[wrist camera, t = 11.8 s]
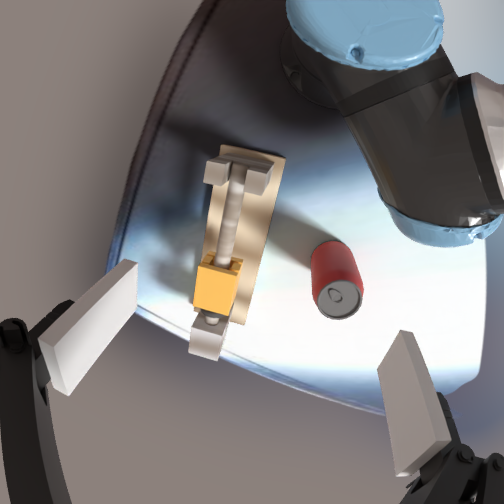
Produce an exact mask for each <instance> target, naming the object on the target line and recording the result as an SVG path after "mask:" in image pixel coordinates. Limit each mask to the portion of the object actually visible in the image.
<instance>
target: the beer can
mask: <svg viewBox="0 0 504 504" xmlns="http://www.w3.org/2000/svg"><path fill="white" fill-rule="evenodd" d="M311 278H312V295H313V299H314V302H315V304H316V305H317V306H318V309H319V310H320V312H321V313H322V314H323V315H324V316H326V317H327V318H330V319H335V320H341V319H346V318H348V317H350V316H352V315H354V314H355V313H356V312H357V311H358V310H359V308H360V306H361V304H362V297H363V292H364V288H363V282H362V279H361V276H360V273H359V271H358V268H357V265H356V262H355V259H354V257H353V254H352V252H351V250H350V249H349V248H348V247H347V246H346V245H345V244H343V243H341V242H338V241H329V242H325V243H323V244H321V245H319V246H318V247H317V248H316V249H315V250H314V252H313V254H312V256H311Z"/></svg>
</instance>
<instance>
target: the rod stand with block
mask: <svg viewBox="0 0 504 504" xmlns="http://www.w3.org/2000/svg"><path fill="white" fill-rule="evenodd" d="M285 160H286V158H283V157H279V156H275V155H271V154H267V153H262V152H258V151H254V150H249V149H245V148H240V147H235V146H230V145H225V144H223V145H221V148H220V153H219V156H218V157H215V158H213V159H210V160H208V161H207V164H206V169H205V175H204V181H203V183H208V184H212V185H213V191H212V196H211V202H210V208H209V214H208V220H207V226H206V232H205V238H204V244H203V251H202V257H201V263H202V260H203V259H204V257H205V256H206V255H207V253H208V251H212V252H216V254H215V259H214V265H213V266H215V267H219V268H223V269H227V270H229V266H230V261H231V257H235V258H239V259H243V260H244V261H243V265H242V269H241V274H240V278H239V283H238V288H237V292H236V297H235V299H234V302H233V305H232V307H231V310H230V312H229V315H228V316H226V315H223V314H219V313H216V312H212V311H209V310H205V309H202V308H198V307H195V306H194V311H195V312H198V315H197V317H196V319H195V321H194V323H193V325H192V327H191V334H190V342H189V351H188V352H189V353H192V354H195V355H199V356H202V357H205V358H208V359H212V360H215V361H217V360H218V357H219V355H220V352H221V349H222V346H223V343H224V341H225V336H226V332H227V327H228V324H229V321H230V322H234V323H237V324H241V325H245V321H246V317H247V313H248V310H249V306H250V302H251V298H252V294H253V290H254V286H255V282H256V278H257V274H258V270H259V266H260V262H261V258H262V254H263V250H264V246H265V242H266V238H267V234H268V230H269V226H270V222H271V218H272V214H273V210H274V206H275V202H276V198H277V193H278V189H279V185H280V181H281V177H282V173H283V169H284V165H285Z"/></svg>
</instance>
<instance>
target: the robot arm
mask: <svg viewBox="0 0 504 504" xmlns="http://www.w3.org/2000/svg"><path fill="white" fill-rule="evenodd" d="M286 12H287V18H288V20H289V23H290V25H289V26H288V28H287V29H286V31H285V33H284V35H283V38H282V41H281V46H280V58H281V63H282V67H283V70H284V73H285V75H286V77H287V79H288V80H289V82H290V83H291V85H292V86H293V87H294V88H295V89H296V91H298V92H299V93H300V94H301V95H302V96H303V97H305V98H306V99H308V100H309V101H311V102H313V103H315V104H318V105H320V106H323V107H327V108H332V109H339V110H340V112H341V114H342V116H343V118H344V120H345V122H346V124H347V126H348V127H349V129H350V131H351V133H352V135H353V137H354V139H355V141H356V142H357V144H358V146H359V148H360V150H361V152H362V154H363V156H364V158H365V160H366V162H367V164H368V166H369V169H370V171H371V173H372V175H373V177H374V179H375V181H376V184H377V186H378V193H379V196H380V199H381V200H382V201H383V203H384V205H385V206H386V207H387V208H388V210H389V212H390V215H391V217H392V219H393V221H394V223H395V225H396V226H397V227H398V229H399V230H400V231H401V232H402V233H403V234H404V235H405V236H407V237H408V238H410V239H411V240H413V241H415V242H418V243H421V244H424V245H428V246H434V247H458V246H464V245H468V244H472V243H473V241H474V238H479V239H484V238H486V237H487V236H489V235H491V234H492V233H493V232H494V231H495V230H496V229H497V227H498V226H499V225H500V223H501V221H502V217H503V214H504V84H497V83H495V82H494V81H492V80H490V79H488V78H487V77H485V76H483V75H482V74H480V73H478V72H475V73H471V74H468V75H465V76H462V77H458V75H457V74H456V72H455V71H454V68H453V66H452V64H451V63H450V60H449V59H448V57H447V55H446V53H445V51H444V49H443V47H442V46H441V44H440V43H441V41H442V37H443V26H442V25H443V22H444V15H443V11H442V8H441V5H440V3H439V0H286ZM137 275H138V263H137V262H134V261H131V260H127V259H124V260H122V261H121V262H120V263H119V264H118V265H116V266H115V267H114V268H113V269H112V270H111V271H110V272H108V273H107V274H106V275H105V276H104V277H103V278H102V279H101V280H99V281H98V282H97V283H96V284H95V285H94V286H93V287H92V288H90V289H89V290H88V291H87V292H86V293H85V294H84V295H83V296H82V297H81V298H79V300H77V301H76V302H74V301H72V300H67V301H64V302H62V303H60V304H58V305H57V306H56V307H55V308H54V309H53V310H52V312H50V313H48V314H47V315H46V317H44V318H43V319H42V320H41V321H40V322H39V323H38V324H37V325H35V326H34V327H33V328H32V329H31V330H30V331H29V332H28V330H27V326H26V324H25V323H24V321H23V320H21V319H18V318H10V319H6V320H4V321H3V322H1V323H0V427H1V428H0V429H1V442H2V453H3V461H4V468H5V475H6V481H7V487H8V492H9V497H10V502H11V504H72V503H71V500H70V496H69V493H68V489H67V486H66V483H65V479H64V475H63V471H62V468H61V463H60V459H59V455H58V450H57V446H56V441H55V436H54V431H53V424H52V418H51V412H50V405H49V398H48V389H47V386H46V384H47V383H48V382H49V381H50V379H51V381H52V384H53V387H54V388H55V389H57V390H58V391H60V392H62V393H63V394H65V395H67V396H69V395H70V394H71V393H72V391H73V390H74V388H75V387H76V386H77V384H78V383H79V382H80V380H81V379H82V378H83V376H84V375H85V374H86V372H87V371H88V370H89V369H90V367H91V366H92V364H93V363H94V362H95V361H96V359H97V358H98V357H99V355H100V354H101V353H102V352H103V350H104V349H105V348H106V346H107V345H108V344H109V343H110V341H111V340H112V339H113V338H114V336H115V335H116V334H117V333H118V331H119V330H120V329H121V327H122V326H123V325H124V324H125V323H126V321H127V320H128V319H129V318H130V316H131V315H132V314H133V313H134V311H135V310H136V309H137ZM377 372H378V376H379V381H380V385H381V390H382V395H383V400H384V405H385V411H386V416H387V421H388V427H389V433H390V439H391V446H392V451H393V459H394V466H395V474H396V476H411V475H412V474H414V473H415V472H416V471H417V470H419V469H420V476H419V477H418V478H416V479H415V480H414V481H412V482H411V483H410V484H408V485H407V487H406V488H409V487H410V486H411V485H412V486H411V488H410V489H409V491H408V492H407V494H406V495H405V497H404V498H403V500H402V501H401V502H400V504H504V457H503V456H502V455H501V454H499V453H493V454H491V455H490V456H489V457H488V458H486V459H483V458H479V457H475V455H474V452H473V451H472V449H471V448H470V447H469V446H467V445H465V444H461V441H460V438H459V435H458V432H457V429H456V426H455V423H454V420H453V419H452V414H451V411H450V408H449V405H448V402H447V400H446V399H445V398H444V396H443V395H442V394H441V392H436V391H435V388H434V385H433V382H432V380H431V377H430V374H429V372H428V369H427V366H426V364H425V361H424V359H423V356H422V354H421V351H420V349H419V346H418V344H417V342H416V339H415V337H414V335H413V332H408V331H403V330H400V331H399V333H398V335H397V336H396V338H395V340H394V342H393V344H392V345H391V347H390V349H389V350H388V352H387V354H386V355H385V357H384V359H383V360H382V362H381V364H380V365H379V367H378V368H377ZM475 496H476V501H475V502H474V498H475Z"/></svg>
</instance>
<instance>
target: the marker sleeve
mask: <svg viewBox="0 0 504 504" xmlns="http://www.w3.org/2000/svg"><path fill="white" fill-rule="evenodd" d="M215 254H216V252H212V251H208V253H207V255H206V256H205V257H204V259H203V260H202V263H200V264H199V266H198V271H197V278H196V285H195V293H194V300H193V306H195V307H198V308H202V309H205V310H209V311H212V312H216V313H219V314H223V315H226V316H228V315H229V312H230V310H231V307H232V305H233V302H234V299H235V297H236V292H237V288H238V283H239V278H240V274H241V269H242V265H243V261H244V260H243V259H239V258H235V257H231V261H230V266H229V270H227V269H223V268H219V267H215V266H213V265H214V259H215Z"/></svg>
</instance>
